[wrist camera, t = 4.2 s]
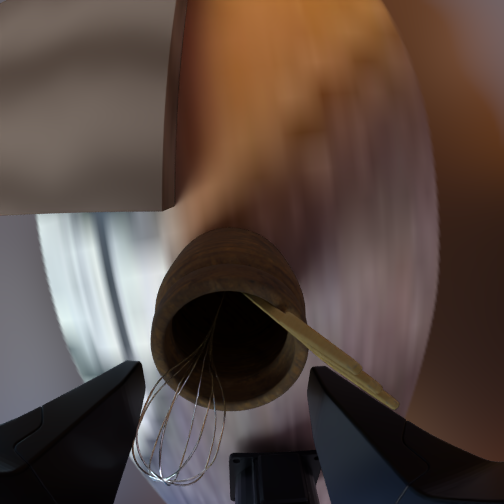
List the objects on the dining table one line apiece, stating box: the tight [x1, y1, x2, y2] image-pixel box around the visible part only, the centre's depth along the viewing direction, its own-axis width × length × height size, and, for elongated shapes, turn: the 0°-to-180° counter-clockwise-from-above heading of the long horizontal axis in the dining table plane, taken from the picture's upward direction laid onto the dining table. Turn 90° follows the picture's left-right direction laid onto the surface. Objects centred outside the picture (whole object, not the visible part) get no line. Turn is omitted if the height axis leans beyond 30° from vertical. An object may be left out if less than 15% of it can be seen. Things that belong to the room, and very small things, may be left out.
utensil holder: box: [132, 228, 399, 486], centre depth 10 cm, size 6×6×12 cm
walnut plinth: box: [0, 0, 188, 216], centre depth 12 cm, size 14×14×2 cm
